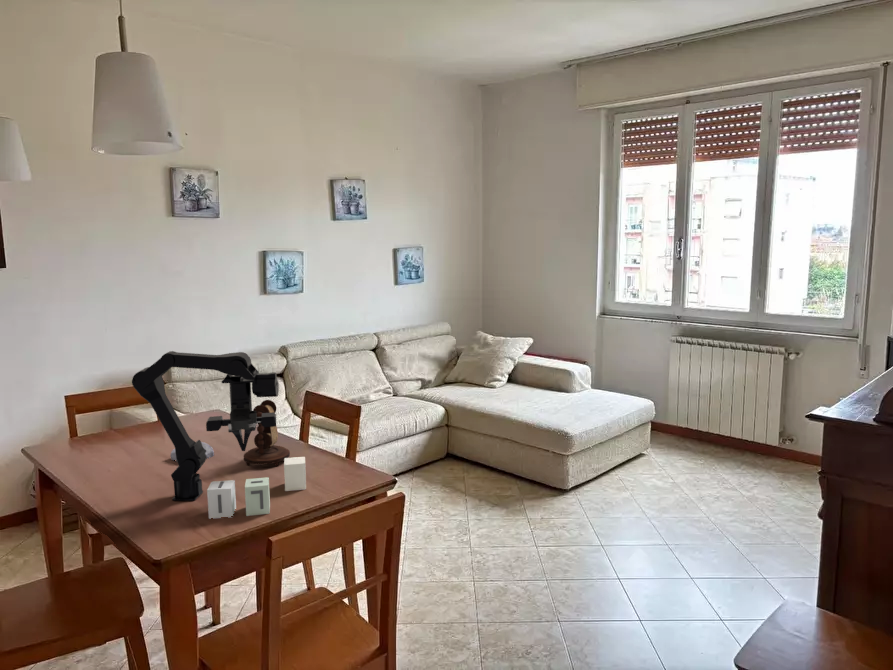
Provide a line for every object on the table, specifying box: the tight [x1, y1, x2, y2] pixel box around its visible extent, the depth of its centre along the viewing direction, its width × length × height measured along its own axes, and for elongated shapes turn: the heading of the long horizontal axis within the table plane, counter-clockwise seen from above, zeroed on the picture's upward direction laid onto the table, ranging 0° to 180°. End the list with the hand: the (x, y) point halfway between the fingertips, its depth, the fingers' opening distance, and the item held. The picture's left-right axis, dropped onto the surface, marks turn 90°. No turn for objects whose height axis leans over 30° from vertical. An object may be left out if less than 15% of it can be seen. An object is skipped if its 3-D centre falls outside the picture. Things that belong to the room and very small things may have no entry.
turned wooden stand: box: [243, 399, 291, 467], centre depth 212 cm, size 15×15×20 cm
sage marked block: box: [244, 476, 271, 517], centre depth 174 cm, size 6×6×8 cm
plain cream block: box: [283, 456, 307, 492], centre depth 191 cm, size 6×6×8 cm
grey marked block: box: [206, 479, 237, 520], centre depth 172 cm, size 6×6×8 cm
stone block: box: [170, 441, 215, 462], centre depth 216 cm, size 12×5×10 cm
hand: (243, 450), depth 184 cm, fingers closed
